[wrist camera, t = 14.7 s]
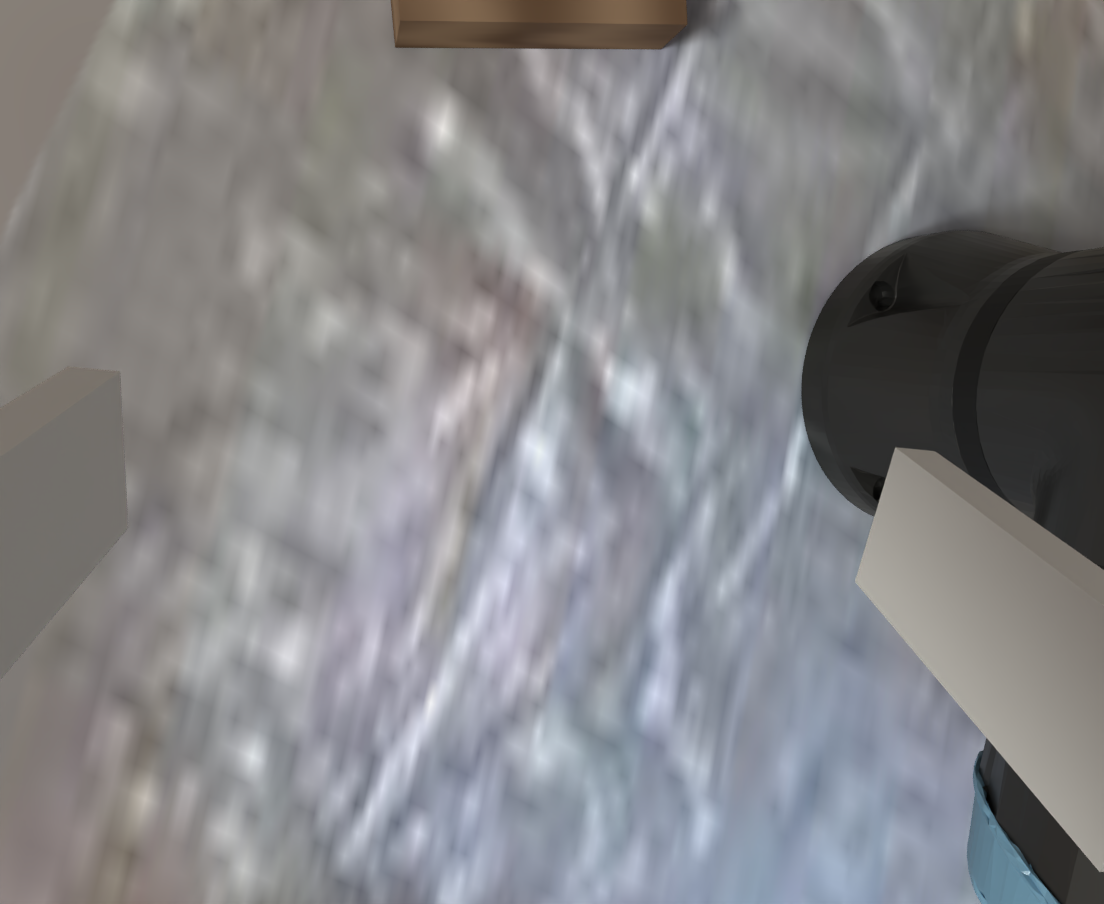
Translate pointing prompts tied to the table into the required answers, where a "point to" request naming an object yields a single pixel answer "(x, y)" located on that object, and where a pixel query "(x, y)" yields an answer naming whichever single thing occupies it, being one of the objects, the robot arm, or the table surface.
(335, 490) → the table surface
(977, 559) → the robot arm
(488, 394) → the table surface
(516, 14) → the brown flat block
